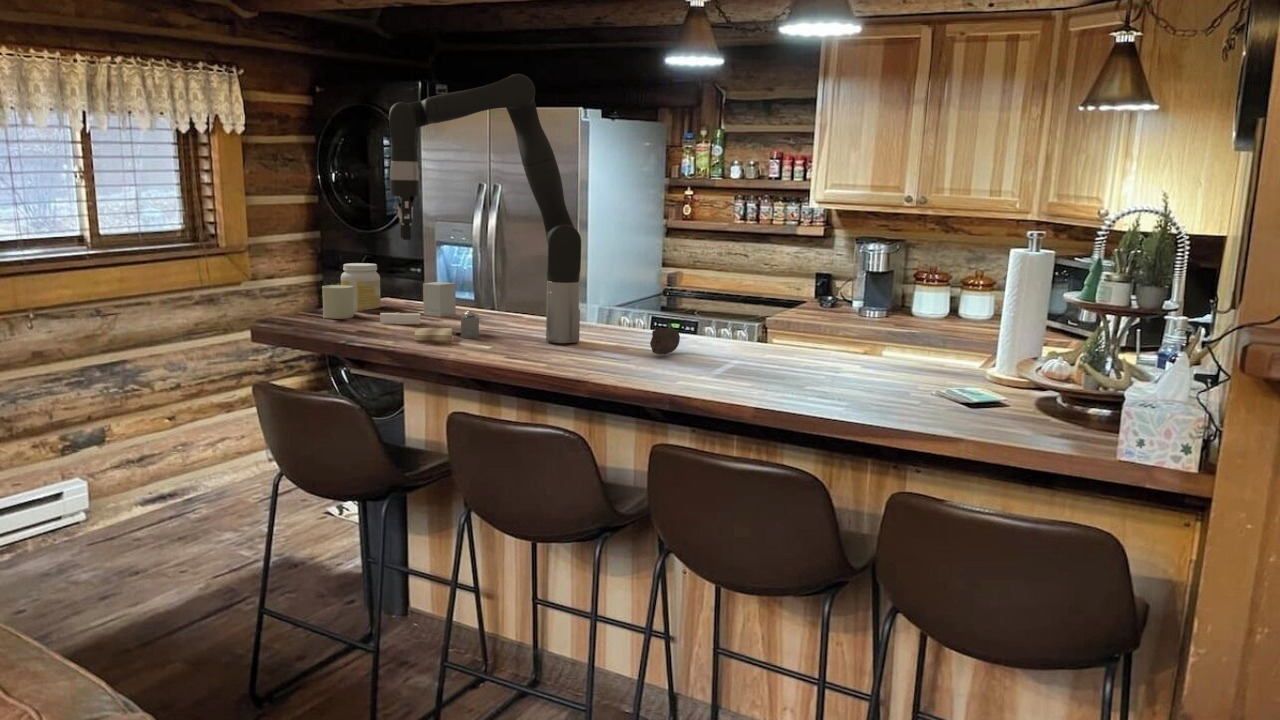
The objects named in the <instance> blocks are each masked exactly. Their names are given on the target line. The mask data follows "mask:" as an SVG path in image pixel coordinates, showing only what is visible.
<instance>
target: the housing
mask: <svg viewBox="0 0 1280 720" xmlns="http://www.w3.org/2000/svg"><path fill="white" fill-rule="evenodd" d="M479 317H480V316H479V313H475V312H473V310H466V312H465V313H460V338H461V339H479V338H480V318H479Z"/></svg>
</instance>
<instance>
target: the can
mask: <svg viewBox="0 0 1280 720" xmlns="http://www.w3.org/2000/svg"><path fill="white" fill-rule="evenodd" d="M353 288H354V287H353V286H349V285H341V284H329V285H322V286H321V289H322V291H321V293H322V318H323V319H333V320H335V319H339V320H340V319H350V318H353V317H354V316H355V314H354V313H355V312H354V308H353Z"/></svg>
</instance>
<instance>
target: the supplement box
mask: <svg viewBox="0 0 1280 720" xmlns="http://www.w3.org/2000/svg"><path fill="white" fill-rule="evenodd" d="M422 291H423V292H422V294H423V295H422V296H423V298H422V302H423V304H422V307H423V315H426V316H431V317H438V318H443V317H447V316H448V317H449V316H454V315H455V316H456V314H457V311H456V308H457V307H456V296H457V295H456V283H453V282H445V281H434V282H425V283H422Z"/></svg>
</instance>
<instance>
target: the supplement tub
mask: <svg viewBox="0 0 1280 720" xmlns="http://www.w3.org/2000/svg"><path fill="white" fill-rule="evenodd" d="M342 267H343V268H342V269H343V271H344V272H342V273H341V275H340V285H349V286H353V287H354V288H353V308H354V313H356V312H362V311H367V310H374V309H379V308H381V303H382V302H381V276H380V274H379V273H378V272H377V271H378V264H376V263H368V262H367V263H366V262H365V263H364V262H363V263H362V262H360V263H359V262H355V263H354V262H351V263H344V264H343V265H342Z"/></svg>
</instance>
